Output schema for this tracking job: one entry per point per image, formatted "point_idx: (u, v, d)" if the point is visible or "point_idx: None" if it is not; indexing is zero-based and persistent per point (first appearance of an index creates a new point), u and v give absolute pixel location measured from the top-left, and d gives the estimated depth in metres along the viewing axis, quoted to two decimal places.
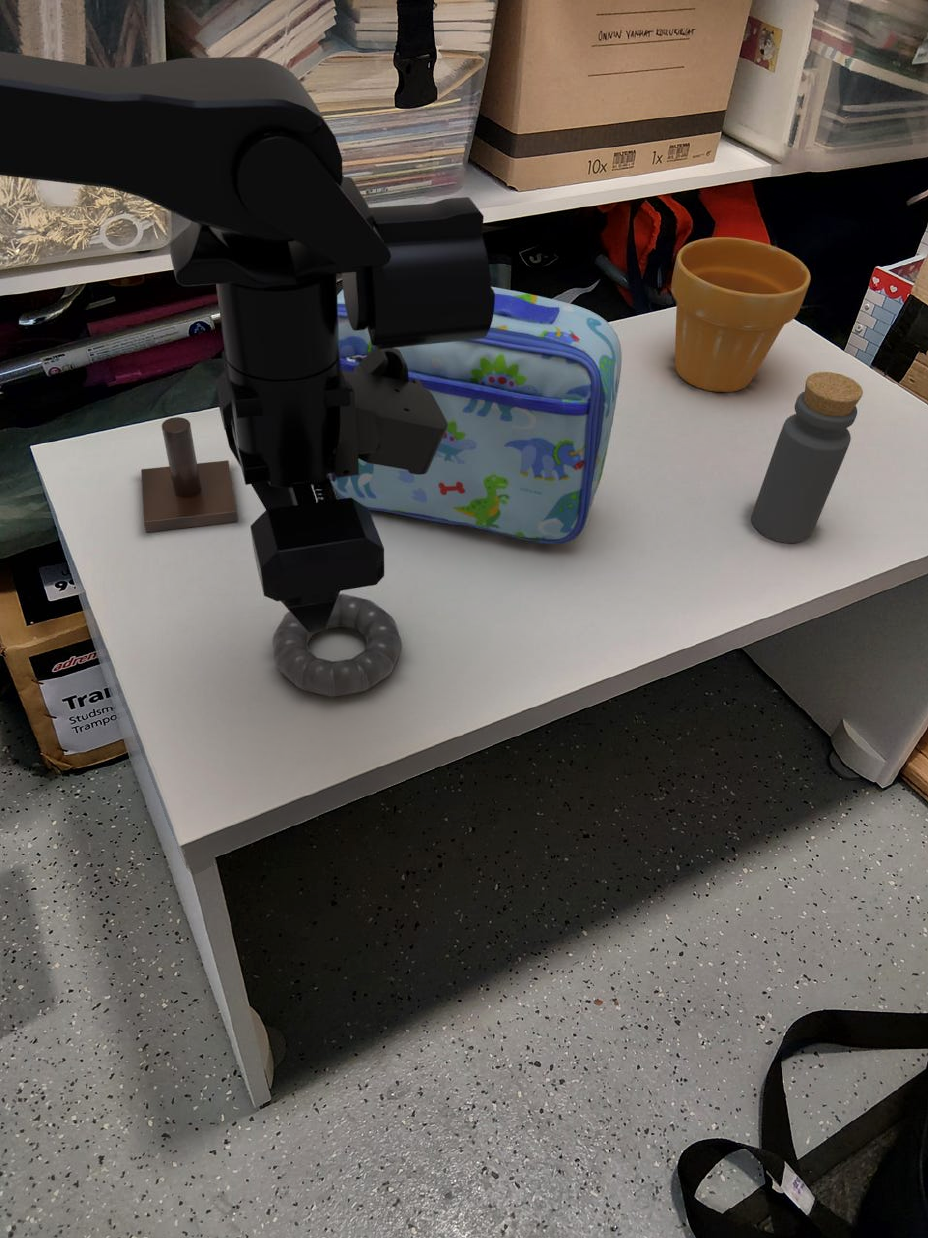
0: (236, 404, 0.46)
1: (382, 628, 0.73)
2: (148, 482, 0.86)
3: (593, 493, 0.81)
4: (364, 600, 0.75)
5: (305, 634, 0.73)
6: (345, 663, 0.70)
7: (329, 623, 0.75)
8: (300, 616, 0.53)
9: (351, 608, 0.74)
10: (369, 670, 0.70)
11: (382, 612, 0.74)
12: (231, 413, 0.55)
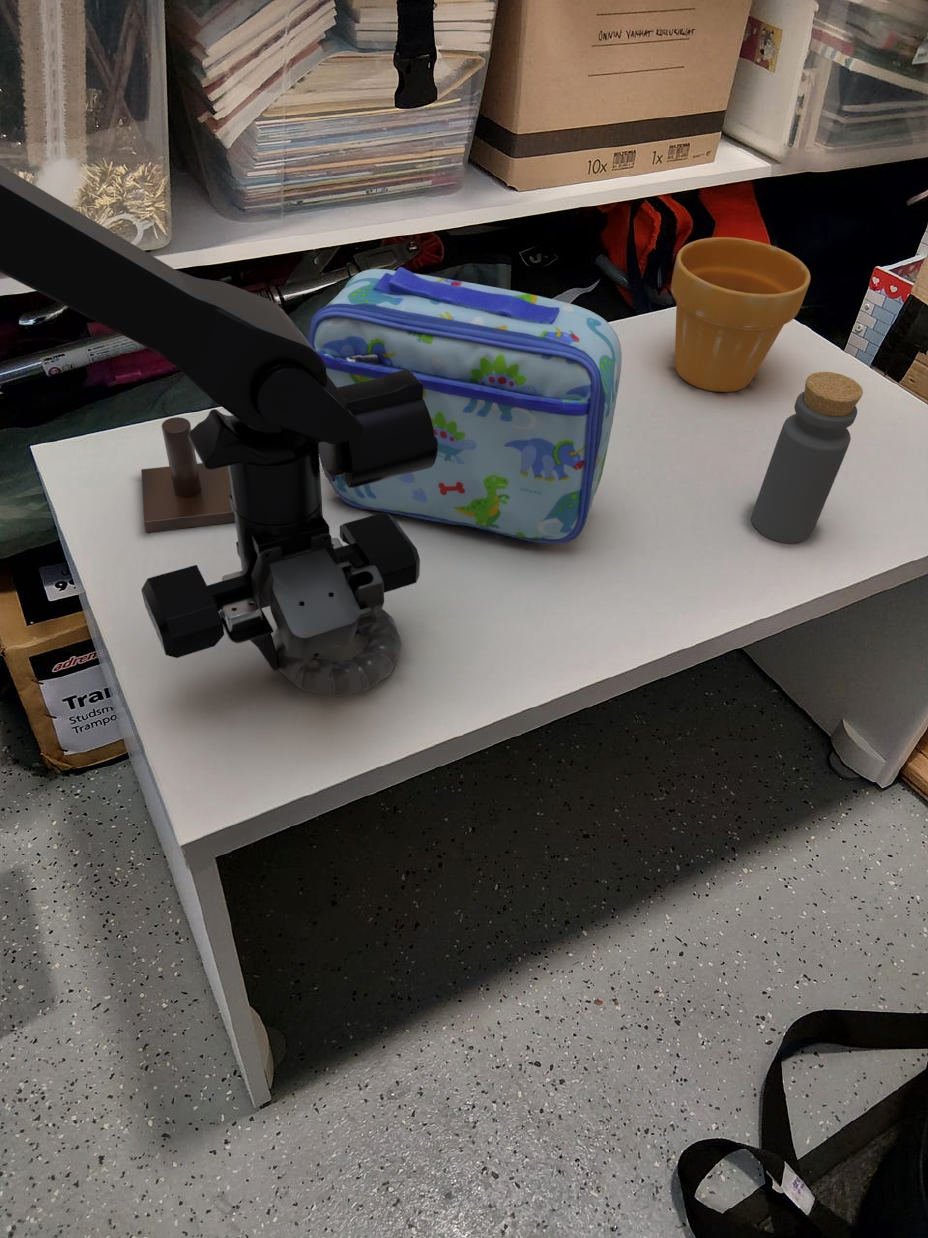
0: None
1: (382, 628, 0.73)
2: (148, 482, 0.86)
3: (593, 493, 0.81)
4: None
5: None
6: (345, 663, 0.70)
7: None
8: None
9: None
10: (369, 670, 0.70)
11: (382, 612, 0.74)
12: (342, 532, 0.69)
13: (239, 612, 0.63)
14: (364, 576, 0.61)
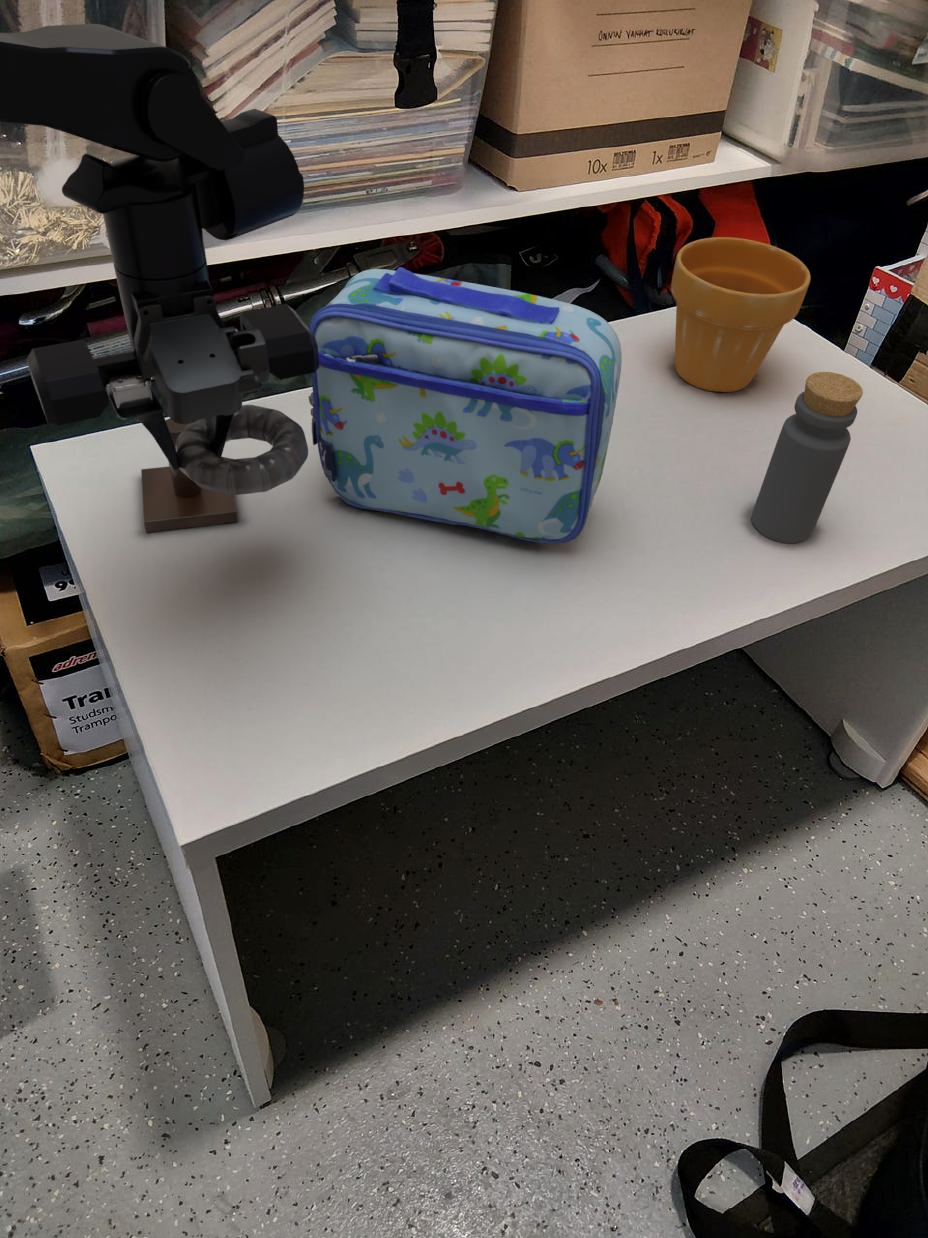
0: None
1: (288, 432, 0.71)
2: (148, 482, 0.86)
3: (593, 493, 0.81)
4: (273, 409, 0.74)
5: None
6: (246, 459, 0.69)
7: (236, 432, 0.73)
8: None
9: (258, 416, 0.73)
10: (270, 467, 0.69)
11: (290, 419, 0.73)
12: (242, 324, 0.68)
13: (125, 384, 0.62)
14: (248, 340, 0.60)
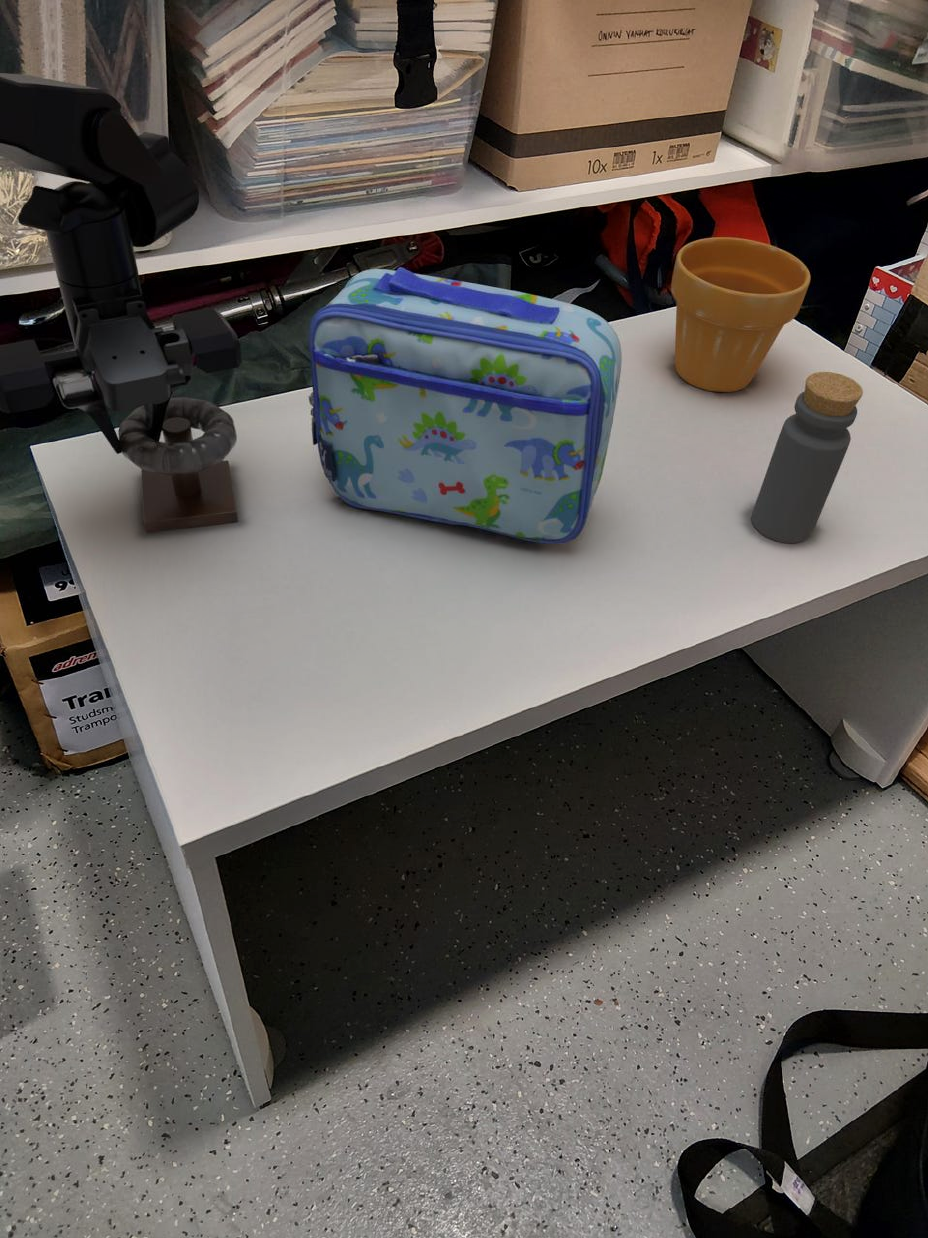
0: None
1: (218, 420, 0.81)
2: (148, 482, 0.86)
3: (593, 493, 0.81)
4: (205, 401, 0.83)
5: None
6: (180, 444, 0.78)
7: None
8: None
9: (192, 407, 0.83)
10: (201, 450, 0.78)
11: (220, 409, 0.83)
12: (174, 325, 0.78)
13: (69, 377, 0.71)
14: (173, 339, 0.69)
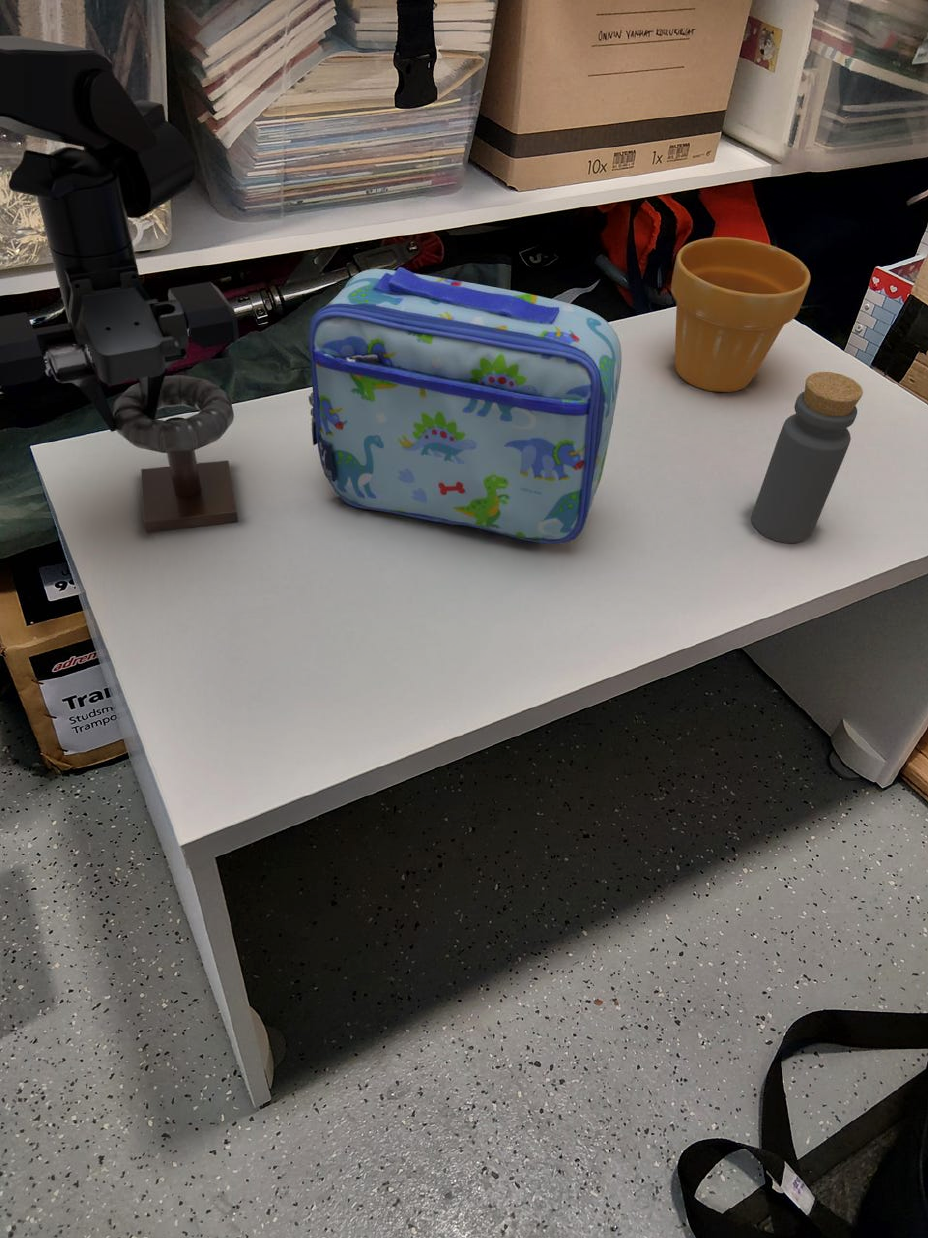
0: None
1: (214, 398, 0.80)
2: (148, 482, 0.86)
3: (593, 493, 0.81)
4: (202, 379, 0.82)
5: None
6: (175, 421, 0.77)
7: (169, 399, 0.81)
8: None
9: (189, 384, 0.81)
10: (198, 427, 0.77)
11: (217, 387, 0.81)
12: (170, 300, 0.76)
13: (61, 350, 0.70)
14: (168, 310, 0.68)
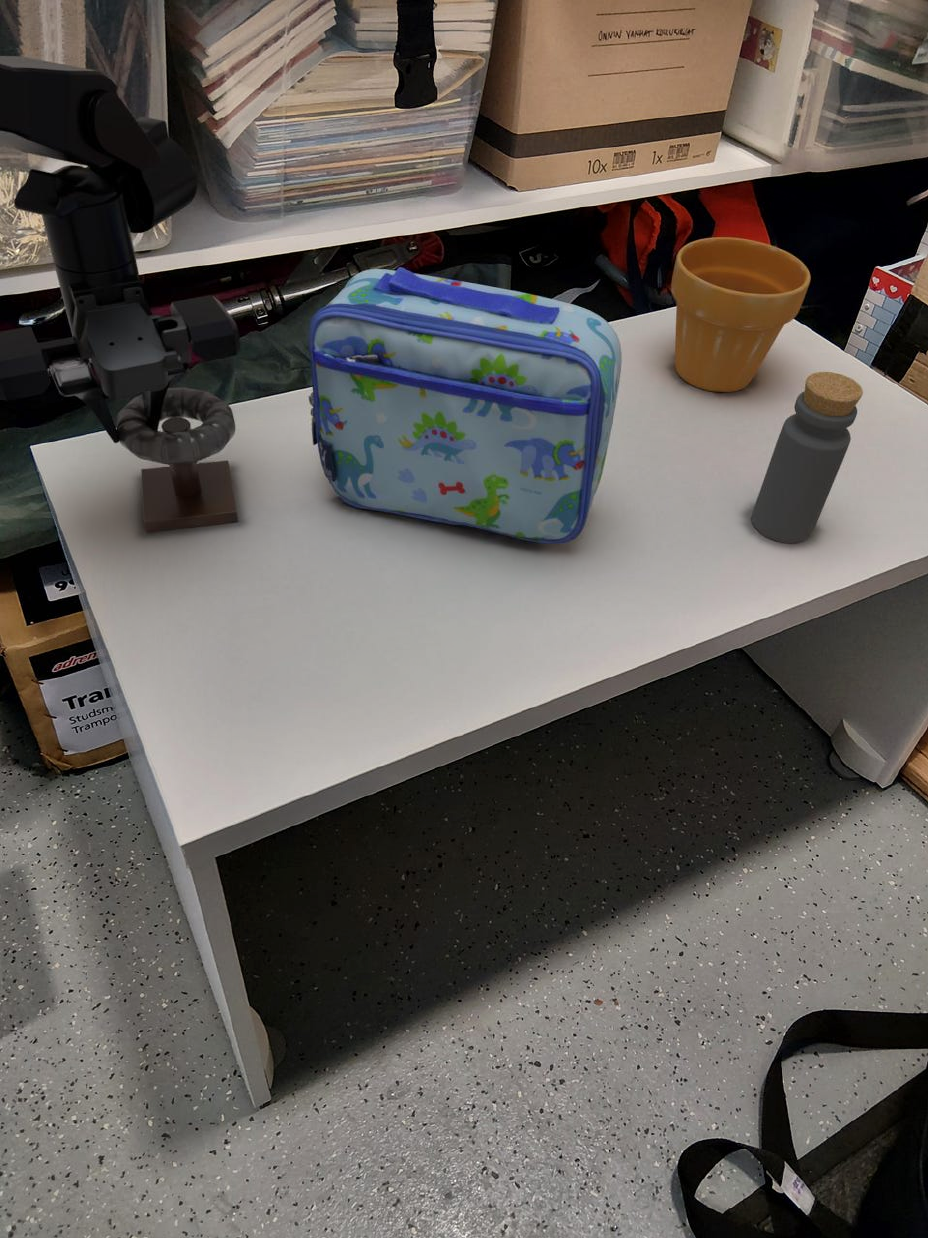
0: None
1: (217, 410, 0.81)
2: (148, 482, 0.86)
3: (593, 493, 0.81)
4: (204, 391, 0.83)
5: None
6: (178, 433, 0.78)
7: (171, 411, 0.82)
8: None
9: (191, 397, 0.82)
10: (200, 439, 0.78)
11: (219, 400, 0.82)
12: (172, 313, 0.77)
13: (65, 365, 0.71)
14: (171, 325, 0.69)
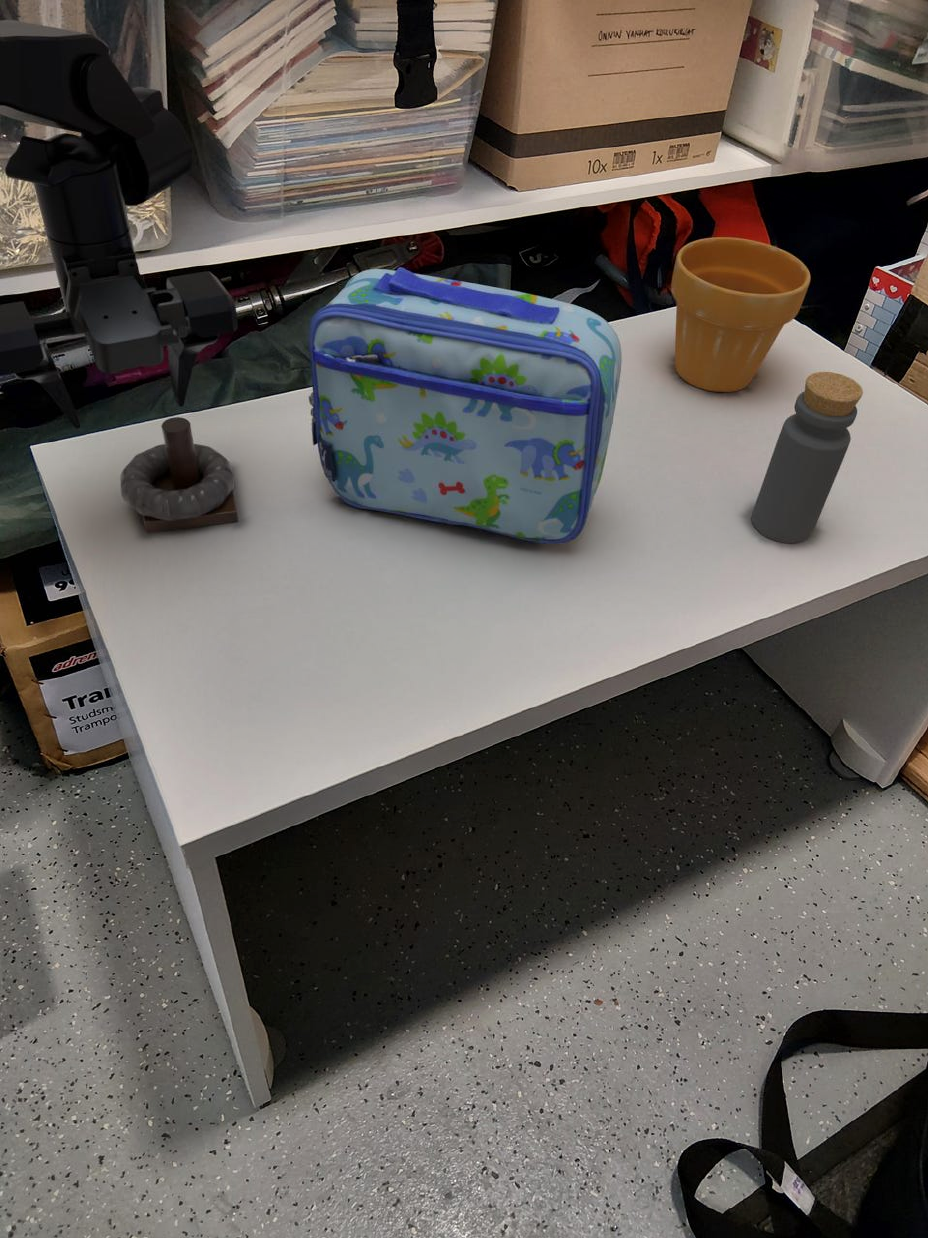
0: None
1: (216, 466, 0.84)
2: None
3: (593, 493, 0.81)
4: (204, 446, 0.86)
5: (149, 472, 0.84)
6: (179, 491, 0.81)
7: None
8: None
9: None
10: (200, 497, 0.81)
11: (218, 455, 0.86)
12: (168, 289, 0.75)
13: None
14: (167, 299, 0.67)
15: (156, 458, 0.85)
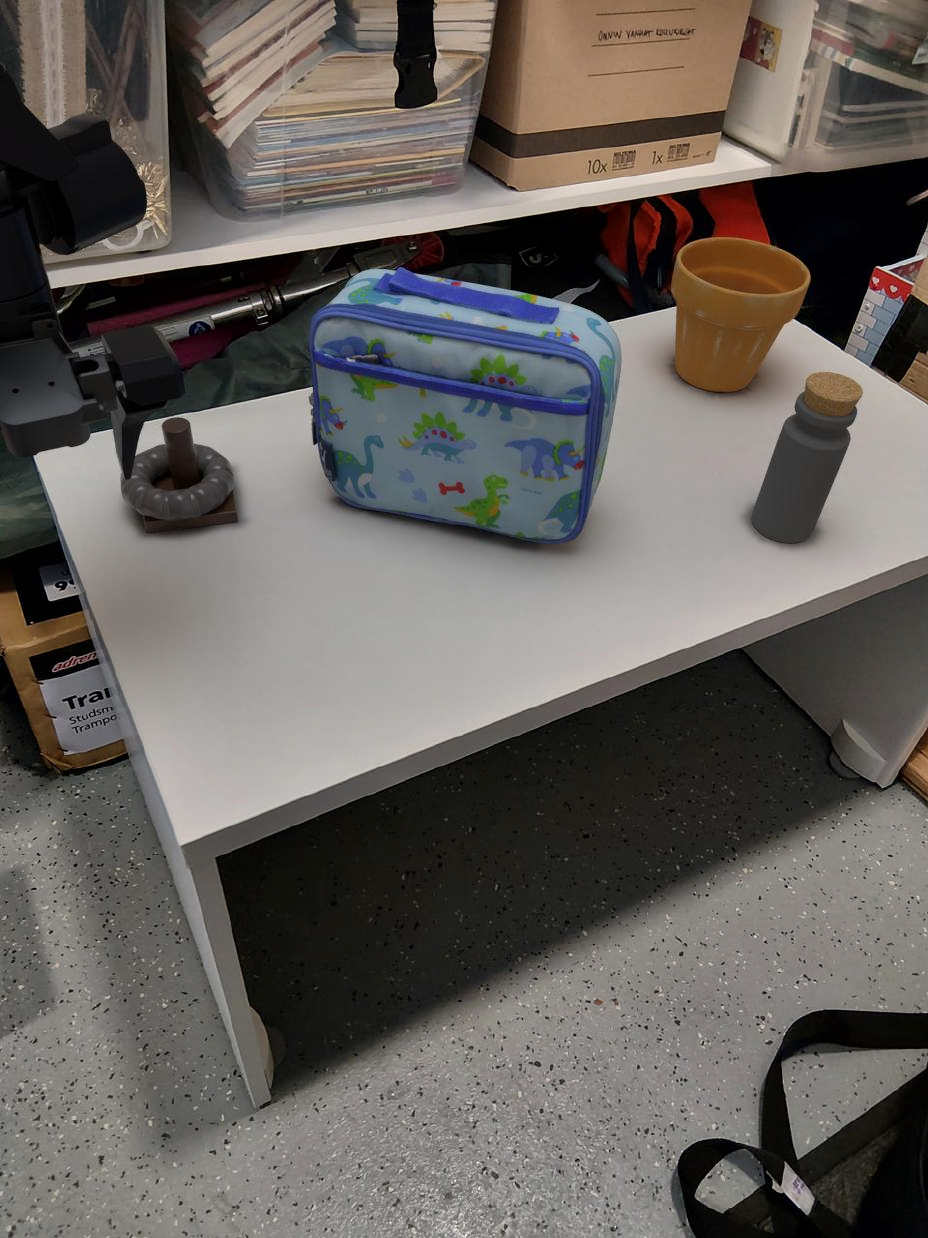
0: None
1: (216, 466, 0.84)
2: None
3: (593, 493, 0.81)
4: (204, 446, 0.86)
5: (149, 472, 0.84)
6: (179, 491, 0.81)
7: None
8: None
9: None
10: (200, 497, 0.81)
11: (218, 455, 0.86)
12: (103, 346, 0.64)
13: None
14: (92, 366, 0.55)
15: (156, 458, 0.85)
